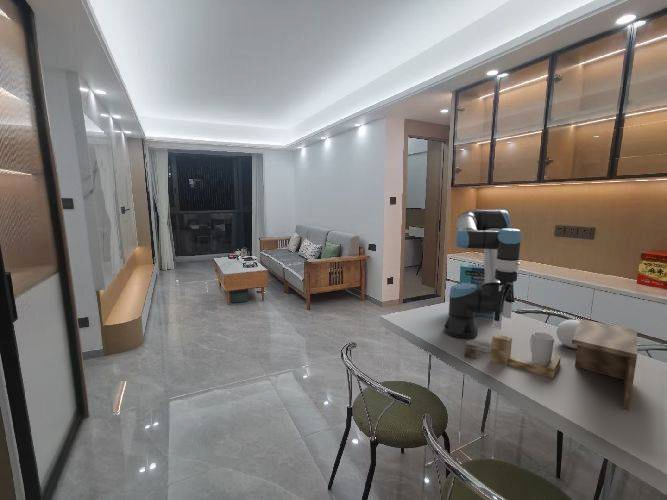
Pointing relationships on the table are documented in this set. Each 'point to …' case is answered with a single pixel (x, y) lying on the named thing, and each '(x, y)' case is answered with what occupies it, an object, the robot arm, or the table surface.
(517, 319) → the table surface
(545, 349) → the mug
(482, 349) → the grey stick
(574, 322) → the decorative ball
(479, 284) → the game box
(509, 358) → the wooden u-shaped rack
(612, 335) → the shelf
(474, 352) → the walnut cube
